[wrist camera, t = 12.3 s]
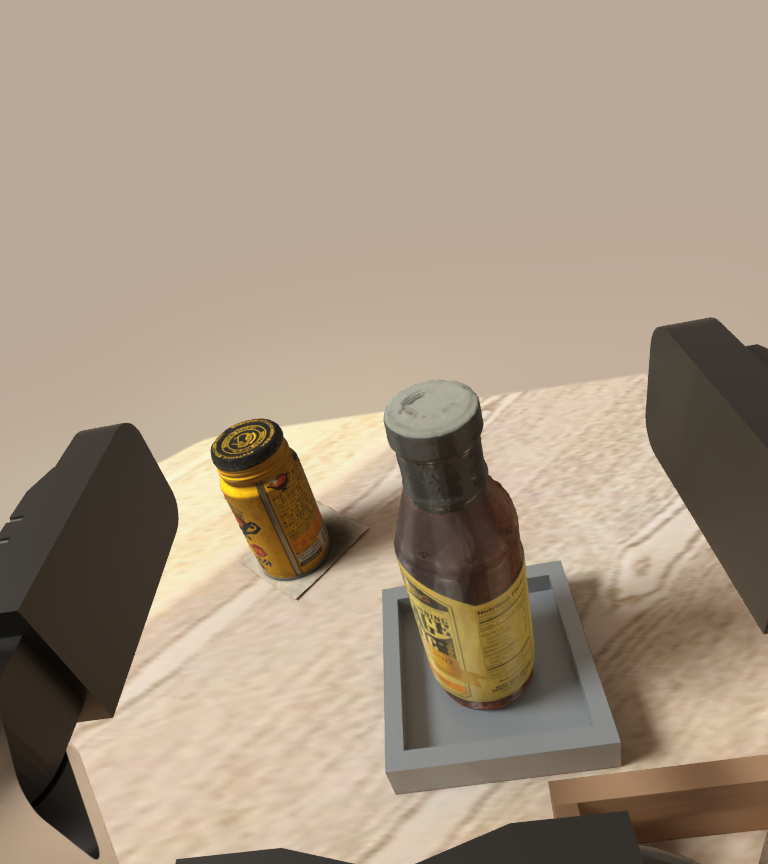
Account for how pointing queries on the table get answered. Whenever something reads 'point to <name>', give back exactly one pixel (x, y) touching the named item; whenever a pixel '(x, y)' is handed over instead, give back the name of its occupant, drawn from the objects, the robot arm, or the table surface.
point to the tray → (504, 727)
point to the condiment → (278, 507)
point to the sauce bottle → (460, 548)
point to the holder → (674, 798)
